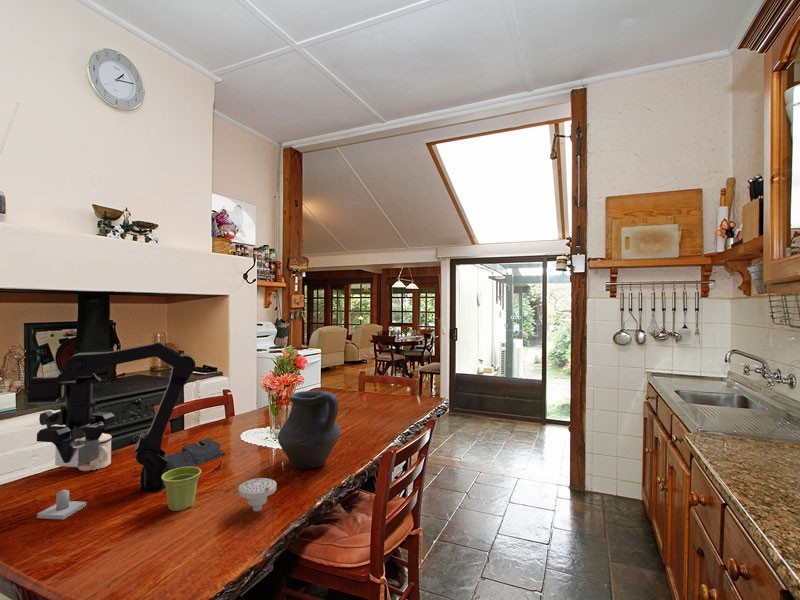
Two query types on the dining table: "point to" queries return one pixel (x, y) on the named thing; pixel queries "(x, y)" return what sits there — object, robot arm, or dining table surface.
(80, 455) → the collar
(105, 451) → the teacup with lid
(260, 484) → the showerhead
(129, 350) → the robot arm
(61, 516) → the shaft base
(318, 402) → the pitcher
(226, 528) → the dining table surface
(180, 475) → the plant pot
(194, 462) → the dark slate chunk
